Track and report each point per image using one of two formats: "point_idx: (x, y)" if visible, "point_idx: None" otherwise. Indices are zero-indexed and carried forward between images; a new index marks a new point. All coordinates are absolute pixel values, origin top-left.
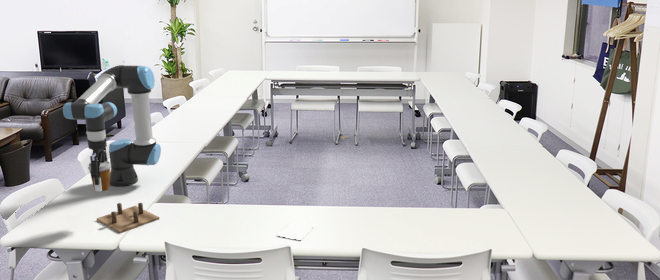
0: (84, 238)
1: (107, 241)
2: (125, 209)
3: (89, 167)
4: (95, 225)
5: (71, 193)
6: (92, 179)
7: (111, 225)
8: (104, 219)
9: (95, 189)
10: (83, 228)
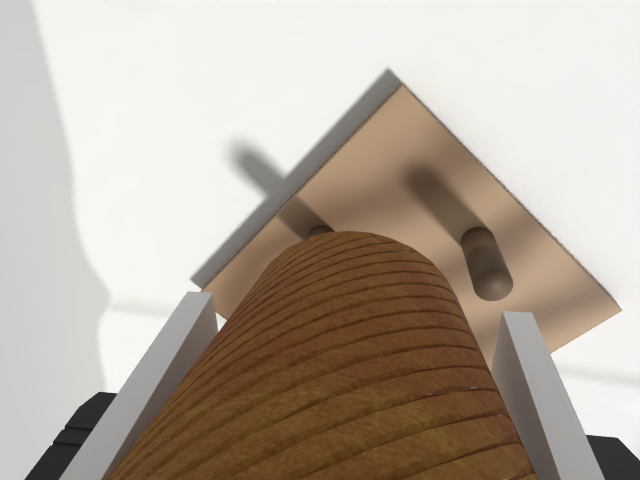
0: (100, 98)
1: (96, 248)
2: (558, 259)
3: None
4: (308, 105)
5: None
6: (186, 380)
7: (274, 232)
8: (376, 157)
9: (178, 315)
10: (251, 27)
